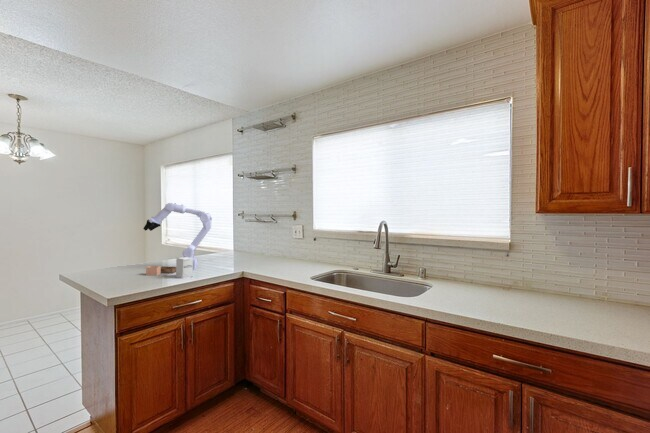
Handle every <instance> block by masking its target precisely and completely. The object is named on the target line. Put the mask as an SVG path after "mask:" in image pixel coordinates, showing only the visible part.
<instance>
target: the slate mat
mask: <svg viewBox="0 0 650 433" xmlns="http://www.w3.org/2000/svg"><path fill="white" fill-rule="evenodd" d="M168 275H169V274H167V273H161V274H159V275H146V274H145V275H143V276H151V277H165V276H168Z"/></svg>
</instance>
